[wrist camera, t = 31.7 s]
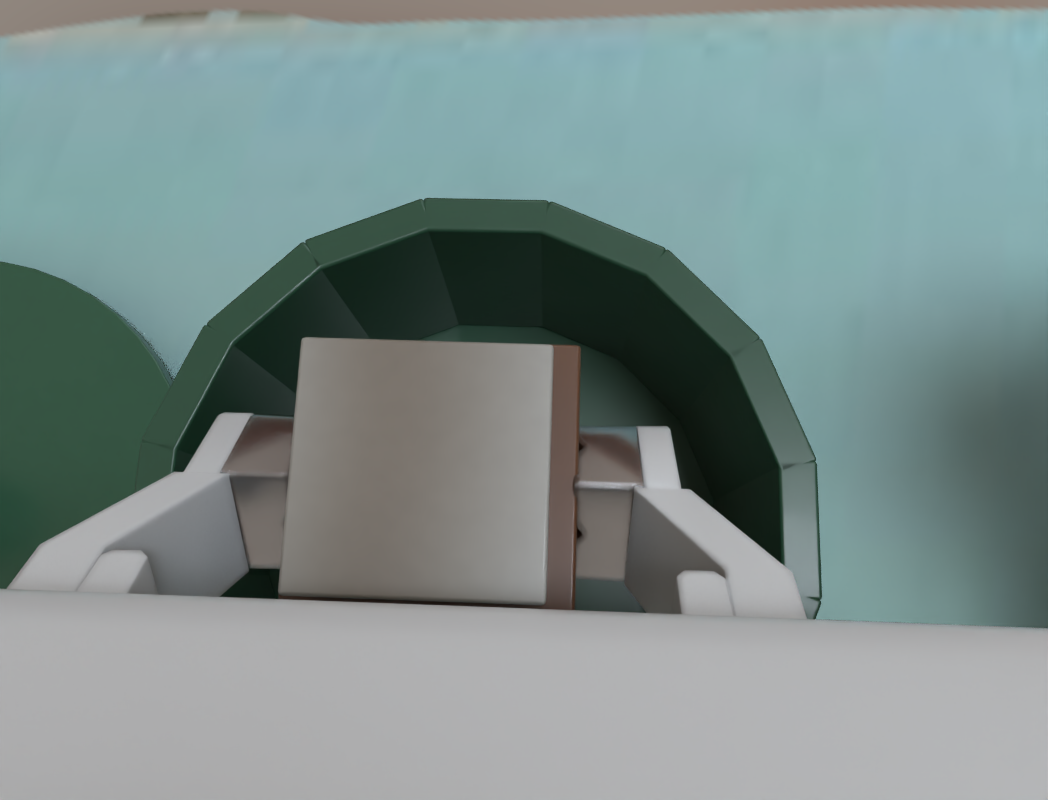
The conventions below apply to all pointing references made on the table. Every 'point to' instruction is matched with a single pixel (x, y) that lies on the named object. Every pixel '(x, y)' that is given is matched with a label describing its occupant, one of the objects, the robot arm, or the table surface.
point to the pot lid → (66, 409)
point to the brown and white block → (433, 474)
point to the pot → (526, 318)
